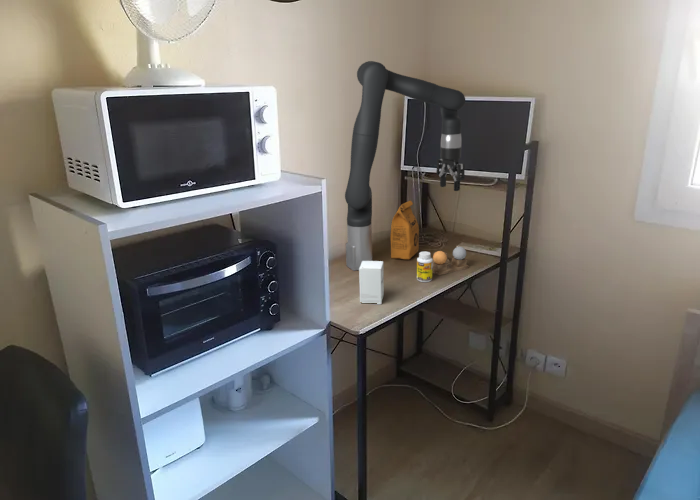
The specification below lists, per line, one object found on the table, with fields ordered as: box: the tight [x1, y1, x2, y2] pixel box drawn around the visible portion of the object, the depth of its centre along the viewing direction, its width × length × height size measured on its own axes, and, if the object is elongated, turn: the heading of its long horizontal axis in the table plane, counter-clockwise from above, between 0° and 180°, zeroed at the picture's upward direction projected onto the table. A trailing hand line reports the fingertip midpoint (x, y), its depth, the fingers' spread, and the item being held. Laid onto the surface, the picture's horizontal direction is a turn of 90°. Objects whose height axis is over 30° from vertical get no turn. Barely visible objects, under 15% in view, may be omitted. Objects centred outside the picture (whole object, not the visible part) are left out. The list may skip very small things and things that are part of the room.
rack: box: [432, 257, 469, 276], centre depth 204 cm, size 14×5×4 cm, turn 117°
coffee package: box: [390, 200, 420, 260], centre depth 216 cm, size 10×12×22 cm
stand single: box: [431, 251, 450, 264], centre depth 212 cm, size 5×5×4 cm
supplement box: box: [358, 260, 385, 305], centre depth 179 cm, size 7×7×13 cm
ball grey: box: [452, 246, 467, 260], centre depth 204 cm, size 5×5×5 cm
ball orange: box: [432, 250, 448, 264], centre depth 201 cm, size 5×5×5 cm
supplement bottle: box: [416, 251, 433, 283], centre depth 194 cm, size 6×6×10 cm
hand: (449, 188), depth 207 cm, fingers open, 8 cm apart
